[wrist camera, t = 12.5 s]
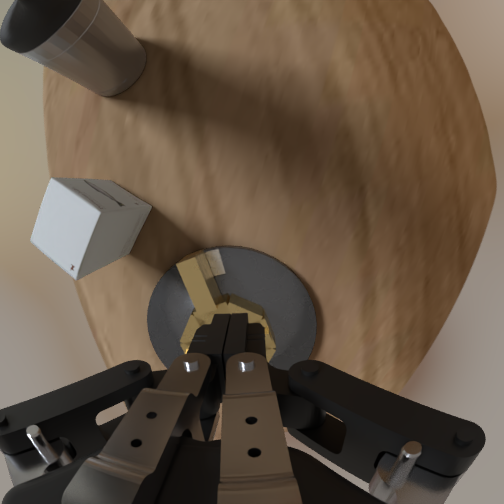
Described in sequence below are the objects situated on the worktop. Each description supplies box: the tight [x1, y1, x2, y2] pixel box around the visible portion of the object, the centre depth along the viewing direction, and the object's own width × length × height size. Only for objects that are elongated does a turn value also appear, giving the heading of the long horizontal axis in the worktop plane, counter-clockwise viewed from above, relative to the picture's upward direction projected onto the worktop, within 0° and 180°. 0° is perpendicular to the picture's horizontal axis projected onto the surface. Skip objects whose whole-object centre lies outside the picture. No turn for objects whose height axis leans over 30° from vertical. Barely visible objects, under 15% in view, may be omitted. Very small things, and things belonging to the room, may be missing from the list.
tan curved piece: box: [176, 249, 276, 363], centre depth 32 cm, size 16×11×4 cm, turn 20°
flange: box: [147, 246, 317, 370], centre depth 33 cm, size 22×22×7 cm
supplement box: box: [31, 177, 152, 280], centre depth 27 cm, size 7×7×13 cm
